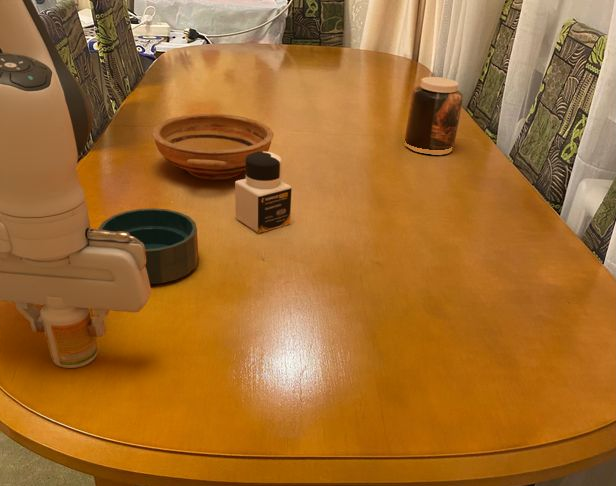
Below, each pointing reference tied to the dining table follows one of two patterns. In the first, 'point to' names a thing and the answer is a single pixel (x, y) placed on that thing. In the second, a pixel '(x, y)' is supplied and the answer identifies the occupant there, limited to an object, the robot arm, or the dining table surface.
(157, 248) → the teal bowl
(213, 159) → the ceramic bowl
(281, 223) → the medicine bottle
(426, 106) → the jar
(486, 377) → the dining table surface
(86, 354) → the supplement bottle
